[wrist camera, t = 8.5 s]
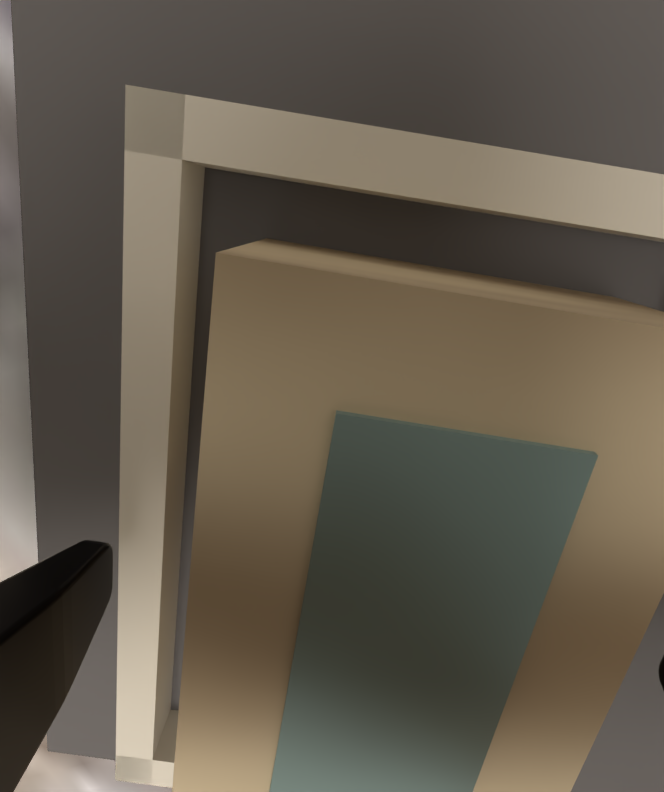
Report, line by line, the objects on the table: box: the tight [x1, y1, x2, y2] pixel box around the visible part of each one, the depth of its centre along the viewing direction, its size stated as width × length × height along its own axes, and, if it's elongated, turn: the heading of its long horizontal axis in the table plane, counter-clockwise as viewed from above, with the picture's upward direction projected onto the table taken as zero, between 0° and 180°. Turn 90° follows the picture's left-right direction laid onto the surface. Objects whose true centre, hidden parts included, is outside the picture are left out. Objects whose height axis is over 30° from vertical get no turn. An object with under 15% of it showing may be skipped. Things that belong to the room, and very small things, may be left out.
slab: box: [172, 238, 664, 792], centre depth 9 cm, size 10×6×4 cm, turn 171°
